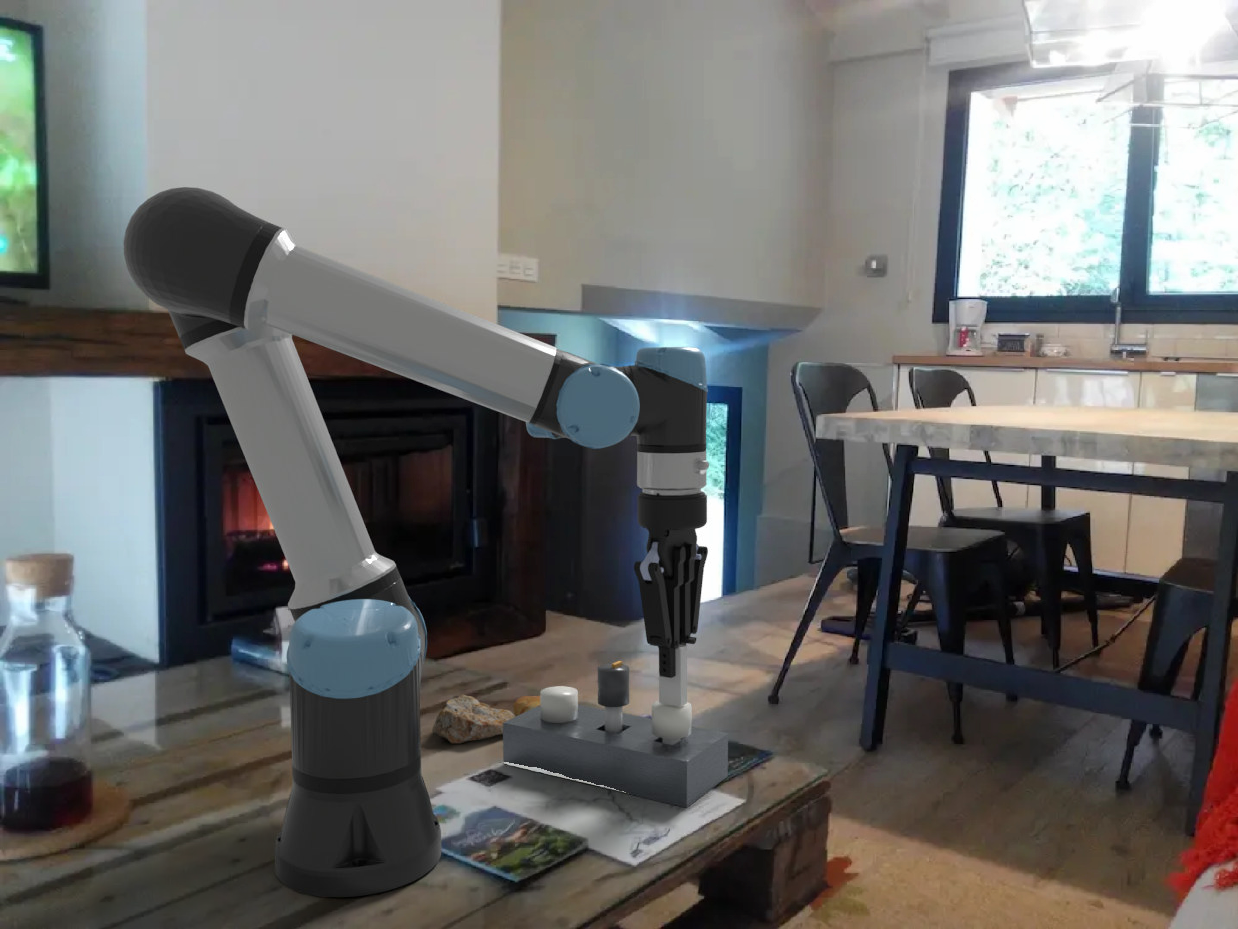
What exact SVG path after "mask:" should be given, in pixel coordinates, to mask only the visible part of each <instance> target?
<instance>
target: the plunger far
mask: <svg viewBox="0 0 1238 929" xmlns="http://www.w3.org/2000/svg"><path fill="white" fill-rule="evenodd" d="M539 693H540V708H541V719H542V720H544V721H546V722H552V723H565V722H570V721H573V720H575V719H577V718H578V705H579V692H578V689H577V688H575V687H571V686H564V685H561V686H559V685H558V686H556V685H555V686H548V687H546V688H542V689H541V690H540V692H539Z"/></svg>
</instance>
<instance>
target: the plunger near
mask: <svg viewBox="0 0 1238 929" xmlns="http://www.w3.org/2000/svg"><path fill="white" fill-rule="evenodd" d="M692 709H693V708H692V704H691V703H690V702H689V701H687V704H685V705H683V706H682V707H678V706H673V705H667V704H661V703H659V700H656V701H654V702H652V703H651V719H652V734H653V735H655V736H657V737H660V738H663V743H664V744H669V745H674V744H676V743H678V742H679V741H681V738H684V737H687V736H689V735H691V733H692V727H693V725H692V724H693V720H692V716H693V714H692V711H693V710H692Z"/></svg>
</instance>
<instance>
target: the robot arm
mask: <svg viewBox="0 0 1238 929" xmlns="http://www.w3.org/2000/svg"><path fill="white" fill-rule="evenodd" d="M123 256H124V261H125V265H126V269H127V270H128V273H129V275H130V277H131V279H132V280H133V282H134V284H135V285H136V286H137V288H139V290H140V291H141V292H142V293H143V294H144V296H146V298H148V299H149V300H150V301H152V302H153V303H154V304H156V305H158V306H159V307H161V308H163V309H166V310H167V311H168V313H169V317H170V318H171V321H172V323H173V326H174V328H175V330H176V332H177V335H178V337H179V340H180V343H181V344H182V348H183V350H184V351H185V355H187V356H190V357H192V358H195V359H196V360H199V361H201V362H203V363H204V364H205V365H206V366H208V368H209V371H210V375H211V376H212V380H213V381H214V383H215V384H214V385H215V386H216V388H217V392H218V393H219V394H218V395H219V396H220V399H221V401H222V404H223V407H224V409H225V411H226V413H227V416H228V419H229V421H230V424H231V426H232V429H233V431H234V434H235V436H236V438H237V441H238V443H239V446H240V448H241V450H242V453H243V456H244V457H245V461H246V463H247V465H248V468H249V471H250V473H251V476H252V478H253V480H254V483H255V486H256V488H257V491H258V493H259V495H260V498H261V500H262V503H263V505H264V507H265V510H266V512H267V513H266V514H267V516H268V518H269V520H270V522H271V525H272V527H273V530H274V532H275V535H276V537H277V540H278V542H279V545H280V547H281V550H282V552H283V554H284V557H285V559H286V561H287V562H286V563H287V564H288V567H289V570H290V572H291V574H292V577H293V580H294V583H295V584H294V590H293V592H292V594H291V596H290V598H289V601H288V603H287V607H288V609H289V611H290V614H291V617H292V619H293V621H294V623H293V625H292V626H291V628H290V632H289V635H288V636H289V637H288V647H287V650H286V663H287V668H288V673H289V675H288V676H289V703H290V706H289V707H290V730H291V731H290V734H291V735H290V736H291V738H290V739H291V763H292V764H291V769H292V772H291V773H292V787H291V791H290V795H289V797H288V801H287V805H286V809H285V813H284V819H283V824H282V829H281V830H280V832H279V833H278V835H277V838H276V841H275V845H274V868H275V875H276V877H277V879H278V880H279V881H280V883H282V884H283V885H284V886H286V887H287V888H289V889H291V890H294V891H296V892H299V893H302V894H305V895H310V896H317V897H323V898H324V897H325V898H326V897H327V898H349V897H351V898H352V897H361V896H362V897H363V896H368V895H373V894H374V895H375V894H380V893H383V892H387V891H391V890H395V889H397V888H400V887H403V886H405V885H408V884H410V883H412V882H414V881H416V880H419V878H421V877H423V876H425V875H426V874H427V873H429V872H431V870H432V869H433V868H434V867H435V866H436V865H437V864H438V862H439V861H440V859H441V856H442V829H441V825H440V822H439V819H438V817H437V816H436V814H435V813H434V810H433V805H432V802H431V797H430V795H429V792H428V789H427V786H426V783H425V780H424V777H423V775H422V757H421V756H422V752H421V751H422V746H421V745H422V744H421V743H422V742H421V696H420V695H421V683H422V682H421V679H422V674H423V673H422V672H423V666H424V662H425V659H426V655H427V649H428V638H427V637H428V632H427V627H426V623H425V622H426V621H425V620H424V617H423V614H422V613H421V611H420V609H419V608H418V607H417V605H416V603H415V602H414V601H413V600H412V599H411V597H410V596H409V594H408V591H407V589H406V586H405V584H404V581H403V579H402V577H401V574H400V571H399V570H398V569H399V568H398V567H397V564H396V563H395V561H394V560H392V559H390V558H387V557H385V556H383V555H381V554H379V553H377V551H376V550H375V548H374V545H373V543H372V539H371V538H370V535H369V533H368V530H367V528H366V524H365V523H364V520H363V517H362V515H361V512H360V510H359V507H358V504H357V501H356V500H355V496H354V494H353V492H352V488H351V486H350V484H349V481H348V479H347V476H346V474H345V471H344V468H343V467H342V463H341V461H340V458H339V456H338V454H337V450H336V447H335V446H334V442H333V441H332V438H331V435H330V433H329V430H328V427H327V425H326V422H325V419H324V418H323V415H322V412H321V410H320V407H319V405H318V401H317V400H316V396H315V394H314V392H313V391H314V390H313V389H312V387H311V384H310V382H309V379H308V377H307V376H308V375H307V373H306V371H305V369H304V365H303V364H302V363H303V362H301V358H300V356H299V354H298V350H297V348H296V346H295V342H294V341H293V336H295V337H298V338H301V339H303V340H306V341H308V342H311V343H314V344H316V345H320V346H323V347H325V348H327V349H330V350H333V351H336V352H338V353H340V354H344V355H347V356H349V357H352V358H355V359H357V360H360V361H362V362H365V363H368V364H370V365H373V366H376V367H379V368H380V369H384V370H386V371H389V372H392V373H394V374H397V375H400V376H403V377H405V378H407V379H411V380H413V381H415V382H418V383H422V384H423V385H427V386H428V387H432V388H434V389H437V390H438V391H439V390H440V391H443V392H445V393H447V394H450V395H453V396H456V397H458V398H462V399H463V400H467V401H469V402H472V403H475V404H477V405H480V406H483V407H485V408H488V409H490V410H493V411H495V412H499V413H501V414H504V415H507V416H509V417H512V418H515V419H517V420H520V421H523V422H525V426H526V431H527V433H528V434H529V435H530V436H531V437H533V438H542V439H543V438H544V439H545V438H547V439H548V438H549V439H552V440H559V439H561V438H562V439H564V438H566V439H569V440H571V441H572V442H573V443H575V444H577V445H579V446H582V447H585V448H588V449H595V450H596V449H598V450H599V449H603V448H607V447H611V446H613V445H616V444H618V443H620V442H622V441H623V440H625V439H626V438H627V437H631V436H634V437H635V436H636V442H637V443H636V444H637V445H636V449H637V451H636V454H637V455H636V456H637V457H636V458H637V460H636V463H637V464H636V466H637V467H636V471H637V472H636V477H637V478H636V485H637V487H638V488H640V489H642V491H641V492H639V493H638V495H637V523H638V525H639V527H642V528H643V529H646V530H647V531H648V536H647V542H646V547H645V548H646V549H645V550H646V553H647V555H646V557H644V560H643V561H641V560H637V561H635V562H634V564H633V565H634V566H633V570H634V573H635V576H636V578H637V582H638V587H639V594H640V600H641V608H642V609H641V610H642V614H643V623H644V629H645V637H646V642H647V644H648V645H650V646H654V647H657V648H658V701H659V703H661V704H667V705H673V706H678V707H682V706H683V705H685V704H687V702H688V645H687V644H690V645H695V644H696V642H697V637H695V636H692V635H696V634H697V632H698V628H699V619H700V618H699V617H700V608H701V599H702V589H703V580H704V571H705V570H704V568H705V564H706V561H707V558H708V554H709V550H708V547H707V546H703V545H702V546H701V545H699V544H698V536H697V532H696V530H697V529H701V528H703V527H704V526H706V525H707V523H708V495H707V494H706V492H704V491H702V489H704V488H705V487H706V485H707V470H708V469H709V467H710V463H709V461H708V460H707V408H708V406H707V405H708V403H707V402H708V401H707V399H708V398H707V397H708V392H709V388H708V384H707V383H708V382H707V380H708V379H707V366H706V365H707V364H706V357H705V354H704V352H702V350H701V349H699V348H697V347H693V346H667V347H666V346H662V347H659V346H657V347H656V346H654V347H653V346H652V347H648V346H647V347H641V348H640V349H638V350H637V352H636V360H634V364H632V365H630V364H629V365H622V366H611V365H609V364H606V363H596V362H593V361H591V360H589V359H586V358H584V357H581V356H579V355H576V354H574V353H571V352H568V351H564V350H561V349H558V348H557V347H555V346H553V345H551V344H549V343H545V342H543V341H540V340H538V339H536V338H532V337H530V336H527V335H525V334H523V333H520V332H517V331H516V330H512V329H510V328H508V327H506V326H503V325H499V324H497V323H494V322H492V321H490V320H487V319H484V318H481V317H479V316H476V315H474V314H471V313H469V312H467V311H465V310H461V309H459V308H456V307H454V306H452V305H448V304H447V303H443V302H441V301H439V300H436V299H434V298H431V297H428V296H427V295H423V294H421V293H419V292H415V291H413V290H410V289H408V288H405V287H403V286H401V285H397V284H395V283H394V282H390V281H388V280H385V279H383V278H380V277H377V276H375V275H372V274H369V273H367V272H365V271H362V270H360V269H357V268H355V267H353V266H350V265H347V264H345V263H342V262H339V261H337V260H335V259H331V258H329V257H327V256H324V255H322V254H318V253H316V252H313V251H312V250H308V249H307V248H303V247H302V246H299V245H296V243H295V241H294V240H293V238H292V235H291V234H290V231H289V230H288V229H286V228H284V227H281V226H279V225H277V224H274V223H271V222H269V221H268V220H264V219H262V218H261V217H257V216H255V215H254V214H252V213H250V212H249V211H246V210H245V209H242V208H240V207H239V206H237V205H236V204H234V203H233V202H231V200H229V199H227V198H226V197H224V196H222V195H221V194H218V193H216V192H214V191H211V190H208V189H203V188H199V187H186V186H182V187H174V188H173V187H172V188H169V189H166V190H162V191H160V192H158V193H156V194H154V195H152V196H150V197H149V198H147V199H146V200H145V201H144V202H143V203H142V204H140V205H139V206H138V207H137V208H136V210H135V212H134V213H133V214H132V215H131V217H130V219H129V221H128V223H127V226H126V228H125V232H124V238H123Z"/></svg>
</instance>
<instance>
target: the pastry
mask: <svg viewBox="0 0 1238 929" xmlns="http://www.w3.org/2000/svg"><path fill="white" fill-rule="evenodd" d="M539 705H540V695H533V696H532V695H526V696H525V695H523V696H520V697H519V698H518V699H516V701H514V703H513V705H512V714H514V715H515V716H518V715H520V714H522V713H524V712H527V711H529V710H531V709H533V708H535V707H537V706H539Z"/></svg>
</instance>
